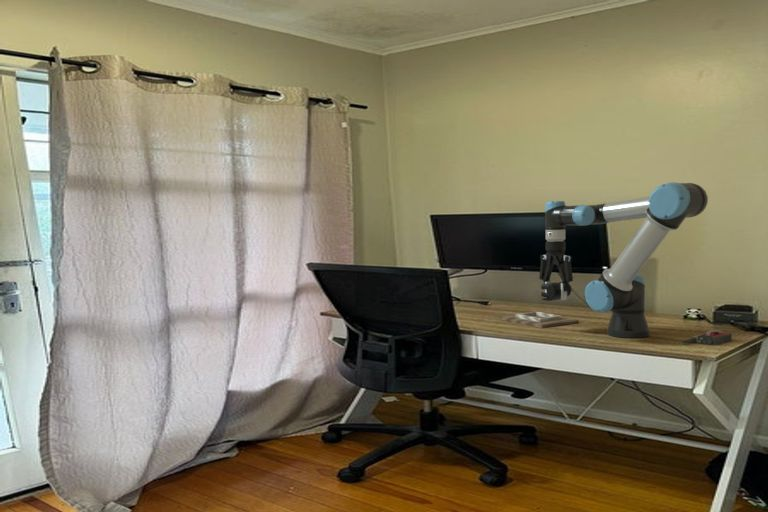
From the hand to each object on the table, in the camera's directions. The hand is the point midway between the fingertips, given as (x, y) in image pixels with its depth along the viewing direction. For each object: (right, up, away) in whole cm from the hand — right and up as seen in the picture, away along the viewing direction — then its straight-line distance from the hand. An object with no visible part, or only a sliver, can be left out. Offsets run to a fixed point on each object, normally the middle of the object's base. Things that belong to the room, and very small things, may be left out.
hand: (556, 298), depth 257 cm
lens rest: (-1, -11, +27) cm, 29 cm away
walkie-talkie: (+46, -14, -28) cm, 55 cm away
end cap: (0, -1, 0) cm, 1 cm away
